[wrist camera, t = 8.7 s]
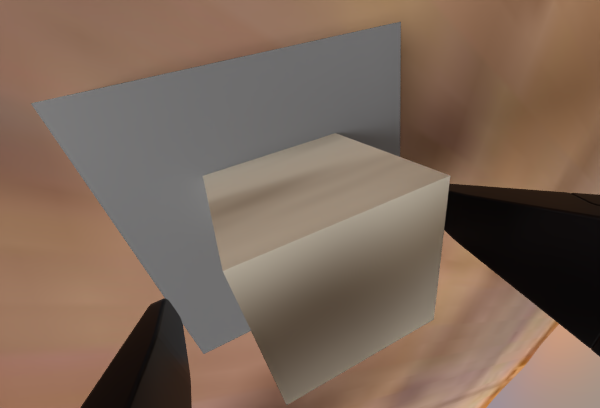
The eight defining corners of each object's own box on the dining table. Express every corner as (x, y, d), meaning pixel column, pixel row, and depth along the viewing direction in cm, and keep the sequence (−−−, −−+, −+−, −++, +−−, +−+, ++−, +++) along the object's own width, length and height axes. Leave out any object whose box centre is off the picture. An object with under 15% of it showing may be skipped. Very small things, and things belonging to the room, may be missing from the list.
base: (367, 230, 17) (399, 257, 14) (199, 305, 14) (203, 353, 12) (352, 33, 11) (400, 21, 9) (73, 95, 9) (31, 103, 6)
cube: (347, 236, 12) (433, 319, 8) (247, 281, 11) (286, 405, 7) (335, 133, 10) (450, 175, 6) (202, 175, 8) (222, 270, 4)
